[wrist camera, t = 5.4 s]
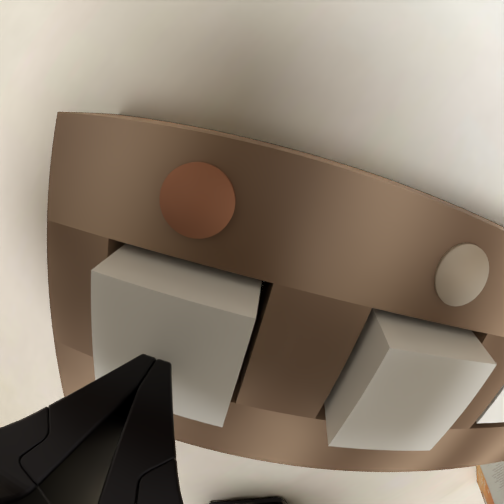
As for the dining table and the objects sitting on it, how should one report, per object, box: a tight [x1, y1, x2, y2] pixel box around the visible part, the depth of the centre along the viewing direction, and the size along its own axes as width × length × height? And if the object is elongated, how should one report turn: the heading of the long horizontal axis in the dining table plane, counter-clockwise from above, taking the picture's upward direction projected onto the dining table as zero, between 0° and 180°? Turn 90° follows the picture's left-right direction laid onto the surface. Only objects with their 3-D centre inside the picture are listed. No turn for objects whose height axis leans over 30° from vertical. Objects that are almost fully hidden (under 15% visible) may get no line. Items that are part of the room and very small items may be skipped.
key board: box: [47, 112, 504, 472], centre depth 12 cm, size 26×12×4 cm, turn 77°
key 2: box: [91, 243, 262, 427], centre depth 10 cm, size 4×4×3 cm
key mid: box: [324, 308, 497, 451], centre depth 10 cm, size 4×4×3 cm
